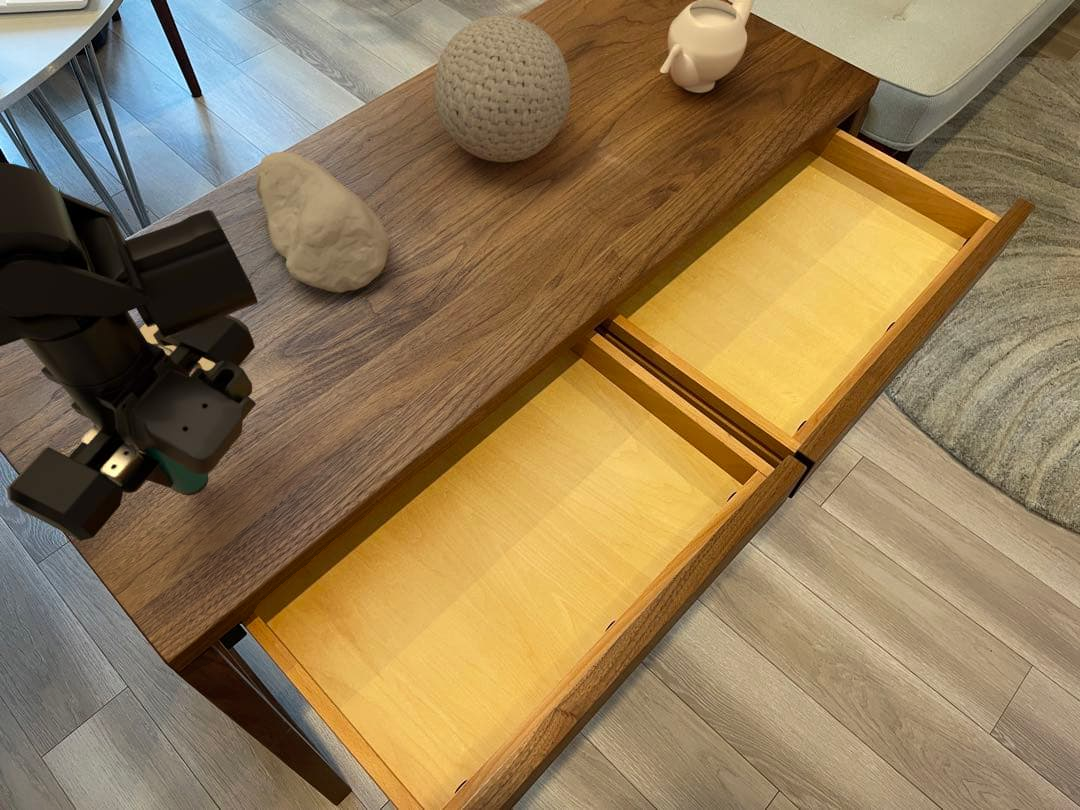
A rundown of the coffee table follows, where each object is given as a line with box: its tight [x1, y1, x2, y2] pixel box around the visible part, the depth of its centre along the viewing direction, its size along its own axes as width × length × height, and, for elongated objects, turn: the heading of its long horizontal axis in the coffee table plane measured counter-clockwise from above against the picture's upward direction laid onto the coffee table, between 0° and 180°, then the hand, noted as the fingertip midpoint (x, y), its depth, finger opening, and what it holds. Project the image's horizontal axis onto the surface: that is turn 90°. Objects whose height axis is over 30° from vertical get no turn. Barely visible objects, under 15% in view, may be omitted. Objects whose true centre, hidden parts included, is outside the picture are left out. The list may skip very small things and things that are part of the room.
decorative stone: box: [255, 151, 391, 294], centre depth 80 cm, size 17×10×10 cm
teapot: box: [659, 0, 755, 94], centre depth 97 cm, size 10×20×9 cm, turn 140°
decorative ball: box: [433, 14, 572, 163], centre depth 86 cm, size 15×15×15 cm
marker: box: [141, 446, 210, 497], centre depth 61 cm, size 3×3×8 cm
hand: (181, 466), depth 63 cm, fingers closed on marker, 3 cm apart
